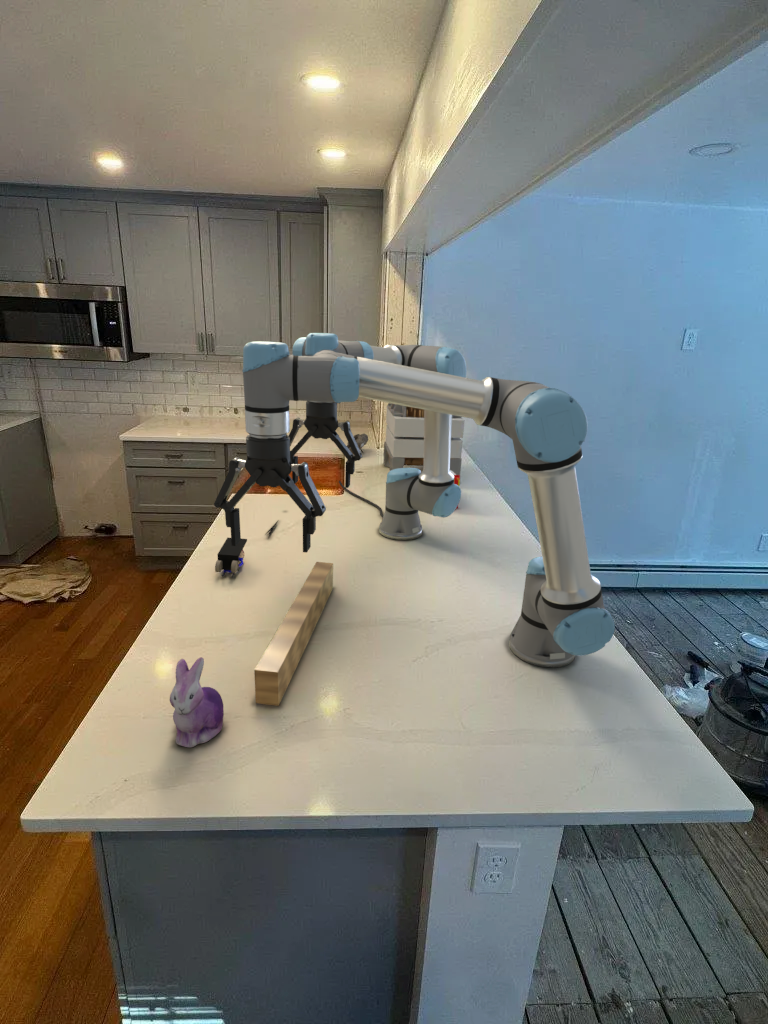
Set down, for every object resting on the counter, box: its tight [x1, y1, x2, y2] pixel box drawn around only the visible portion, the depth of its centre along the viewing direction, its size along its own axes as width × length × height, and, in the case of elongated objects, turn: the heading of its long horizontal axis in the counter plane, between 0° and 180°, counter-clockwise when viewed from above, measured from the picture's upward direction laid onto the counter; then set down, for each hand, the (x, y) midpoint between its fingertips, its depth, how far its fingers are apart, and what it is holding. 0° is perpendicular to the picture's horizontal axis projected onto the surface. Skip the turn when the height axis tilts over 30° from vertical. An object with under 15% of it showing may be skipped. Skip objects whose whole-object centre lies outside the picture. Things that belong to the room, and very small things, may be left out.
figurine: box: [169, 657, 225, 748], centre depth 102 cm, size 9×10×15 cm
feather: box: [265, 520, 279, 539], centre depth 203 cm, size 2×28×2 cm
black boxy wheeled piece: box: [214, 537, 248, 578], centre depth 166 cm, size 7×8×15 cm
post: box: [253, 561, 334, 707], centre depth 134 cm, size 51×5×8 cm, turn 173°
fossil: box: [346, 432, 369, 455], centre depth 306 cm, size 22×10×15 cm
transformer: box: [383, 403, 465, 476], centre depth 268 cm, size 34×33×41 cm
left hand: (321, 484), depth 144 cm, fingers open, 13 cm apart
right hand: (271, 546), depth 106 cm, fingers open, 13 cm apart
